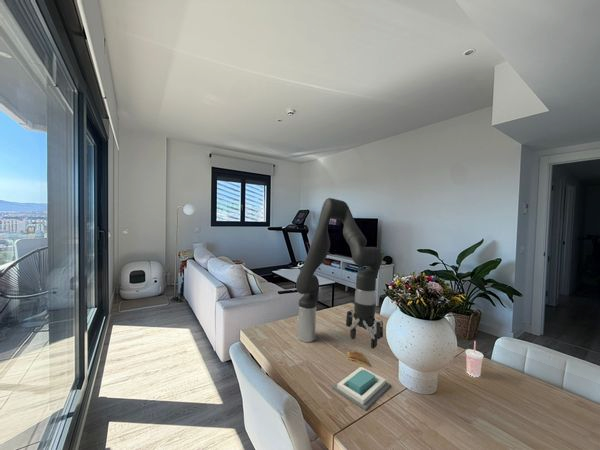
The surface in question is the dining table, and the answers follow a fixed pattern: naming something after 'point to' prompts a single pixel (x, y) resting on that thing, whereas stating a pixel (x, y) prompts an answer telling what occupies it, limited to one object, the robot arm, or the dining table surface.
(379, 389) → the mat
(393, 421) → the dining table surface
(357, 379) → the teal block
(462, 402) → the dining table surface
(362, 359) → the shard
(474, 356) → the beverage cup
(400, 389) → the dining table surface
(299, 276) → the robot arm
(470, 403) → the dining table surface
